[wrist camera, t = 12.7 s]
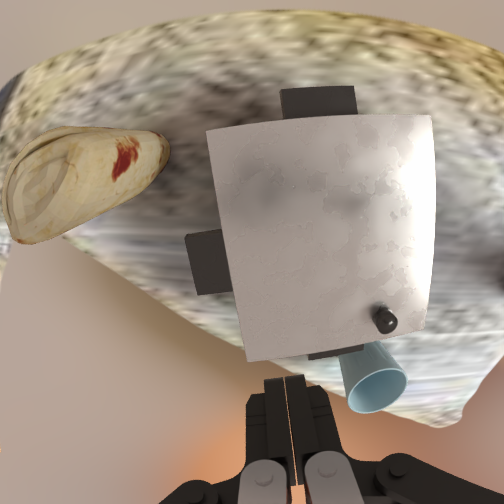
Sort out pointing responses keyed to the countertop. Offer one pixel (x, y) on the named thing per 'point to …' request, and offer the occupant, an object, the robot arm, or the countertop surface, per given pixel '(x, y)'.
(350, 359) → the cup
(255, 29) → the countertop surface
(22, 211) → the food model
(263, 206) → the lid
